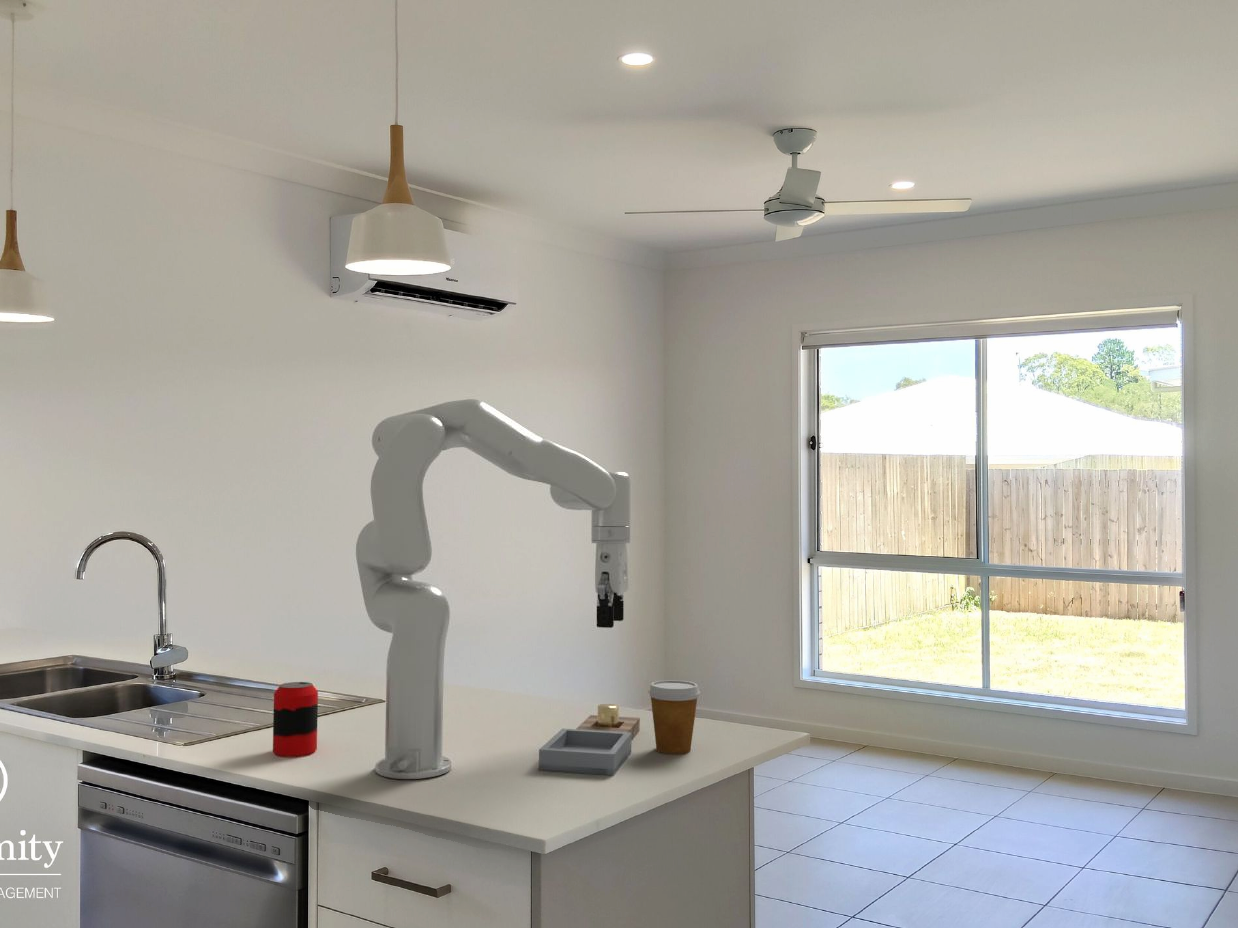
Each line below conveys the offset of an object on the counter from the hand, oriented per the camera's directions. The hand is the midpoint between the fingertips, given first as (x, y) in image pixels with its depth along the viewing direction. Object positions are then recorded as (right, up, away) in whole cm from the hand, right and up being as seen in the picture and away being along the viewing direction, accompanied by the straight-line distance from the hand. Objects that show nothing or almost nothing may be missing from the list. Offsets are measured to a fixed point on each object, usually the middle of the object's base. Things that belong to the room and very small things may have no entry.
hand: (610, 623), depth 202 cm
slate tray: (-4, -21, -18) cm, 28 cm away
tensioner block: (0, -22, -1) cm, 22 cm away
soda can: (-56, -21, -15) cm, 62 cm away
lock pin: (0, -22, -1) cm, 22 cm away
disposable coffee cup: (+12, -22, -10) cm, 27 cm away
